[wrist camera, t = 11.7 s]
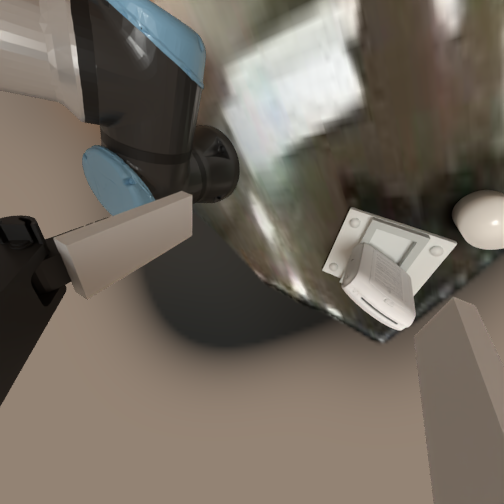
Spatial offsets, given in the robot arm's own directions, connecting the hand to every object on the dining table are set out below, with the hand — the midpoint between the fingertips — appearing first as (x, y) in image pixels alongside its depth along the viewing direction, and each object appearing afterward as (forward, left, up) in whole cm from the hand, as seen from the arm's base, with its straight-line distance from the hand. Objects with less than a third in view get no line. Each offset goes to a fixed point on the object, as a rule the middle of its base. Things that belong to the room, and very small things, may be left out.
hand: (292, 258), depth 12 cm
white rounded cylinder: (+18, -2, -32) cm, 37 cm away
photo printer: (+10, -14, -29) cm, 34 cm away
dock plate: (+10, -14, -32) cm, 36 cm away
